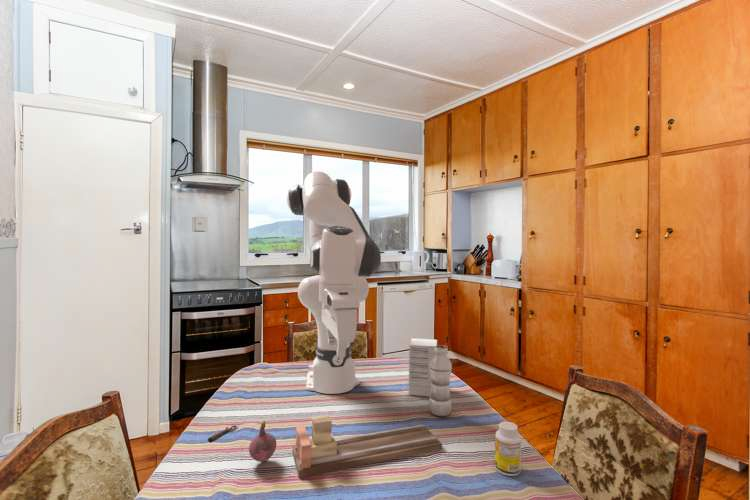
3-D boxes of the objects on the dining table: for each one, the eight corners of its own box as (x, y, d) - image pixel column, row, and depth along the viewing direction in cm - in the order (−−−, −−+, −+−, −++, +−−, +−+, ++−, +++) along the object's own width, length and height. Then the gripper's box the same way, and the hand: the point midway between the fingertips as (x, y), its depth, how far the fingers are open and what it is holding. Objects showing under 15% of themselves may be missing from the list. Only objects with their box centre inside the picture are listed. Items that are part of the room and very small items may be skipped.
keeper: (306, 449, 91) (306, 416, 91) (331, 445, 93) (331, 412, 93) (310, 461, 86) (310, 425, 86) (336, 456, 88) (336, 421, 88)
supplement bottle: (500, 459, 91) (501, 417, 90) (524, 469, 87) (525, 424, 87) (490, 470, 86) (491, 425, 86) (515, 480, 83) (516, 434, 82)
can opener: (210, 443, 97) (210, 438, 97) (204, 440, 98) (204, 435, 98) (240, 428, 104) (240, 424, 104) (235, 426, 106) (235, 422, 105)
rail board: (292, 452, 92) (292, 426, 92) (423, 430, 104) (423, 406, 104) (298, 477, 83) (298, 448, 83) (441, 449, 95) (442, 423, 94)
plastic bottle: (451, 420, 110) (452, 351, 109) (427, 417, 111) (428, 349, 111) (451, 410, 116) (452, 344, 115) (429, 408, 118) (430, 343, 117)
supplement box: (436, 397, 125) (437, 346, 125) (408, 395, 127) (408, 345, 126) (436, 386, 135) (437, 339, 134) (410, 384, 136) (411, 337, 136)
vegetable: (250, 473, 84) (250, 429, 84) (247, 458, 90) (247, 416, 89) (278, 467, 86) (278, 423, 86) (274, 453, 92) (274, 412, 92)
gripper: (316, 287, 101) (315, 338, 102) (334, 302, 82) (332, 366, 83) (339, 286, 103) (338, 337, 104) (362, 301, 84) (360, 363, 85)
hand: (336, 350), depth 93 cm, fingers open, 8 cm apart
